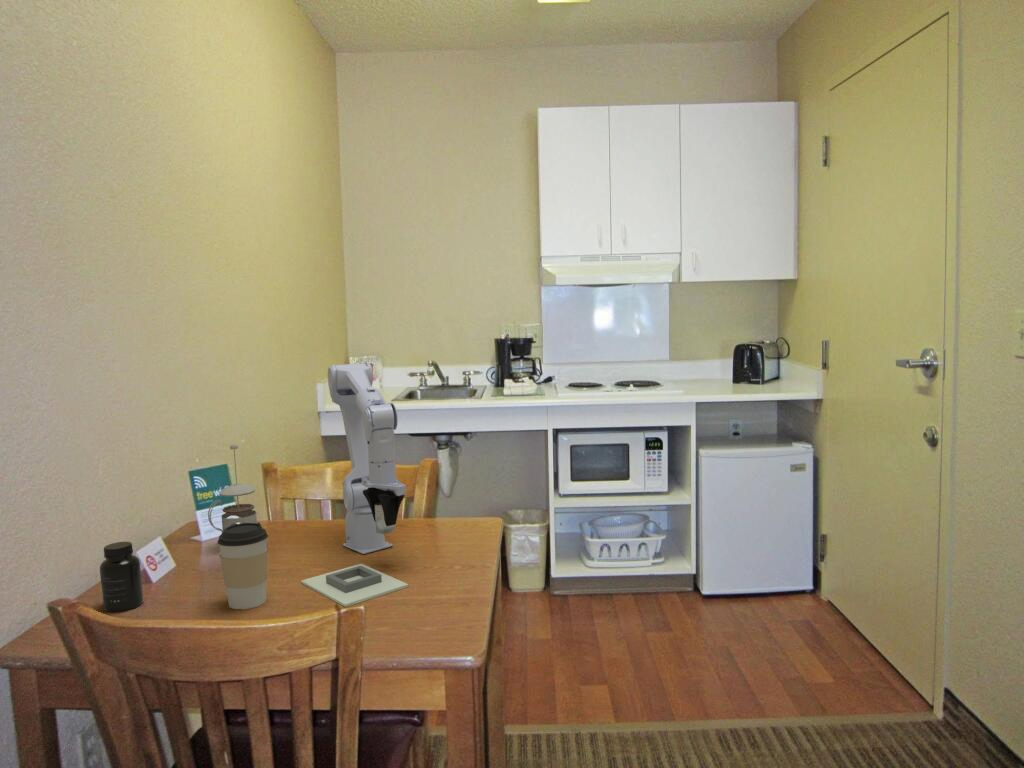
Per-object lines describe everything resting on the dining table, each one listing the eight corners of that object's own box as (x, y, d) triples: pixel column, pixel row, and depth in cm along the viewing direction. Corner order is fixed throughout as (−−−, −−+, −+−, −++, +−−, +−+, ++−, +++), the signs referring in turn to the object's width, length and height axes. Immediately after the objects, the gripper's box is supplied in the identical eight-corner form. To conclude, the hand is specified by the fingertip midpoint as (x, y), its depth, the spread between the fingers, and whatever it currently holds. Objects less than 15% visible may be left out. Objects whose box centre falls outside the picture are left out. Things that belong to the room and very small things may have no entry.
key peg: (372, 531, 160) (371, 503, 160) (388, 527, 163) (387, 500, 162) (382, 534, 157) (381, 507, 157) (398, 530, 160) (397, 503, 160)
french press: (268, 548, 176) (261, 443, 173) (216, 558, 169) (208, 450, 167) (256, 538, 184) (249, 438, 181) (206, 548, 177) (199, 444, 175)
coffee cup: (223, 615, 137) (217, 535, 135) (221, 598, 145) (215, 523, 144) (274, 606, 140) (269, 528, 139) (269, 590, 149) (264, 516, 147)
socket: (301, 582, 152) (300, 573, 152) (361, 565, 161) (360, 556, 161) (345, 607, 139) (344, 596, 138) (408, 586, 148) (407, 576, 148)
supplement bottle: (113, 600, 146) (107, 540, 145) (149, 597, 147) (144, 538, 145) (96, 614, 139) (91, 551, 138) (134, 611, 140) (129, 549, 139)
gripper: (348, 459, 161) (351, 520, 163) (384, 468, 151) (387, 533, 152) (376, 454, 166) (379, 513, 167) (413, 462, 155) (416, 526, 157)
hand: (385, 522), depth 160 cm, fingers closed on key peg, 4 cm apart
